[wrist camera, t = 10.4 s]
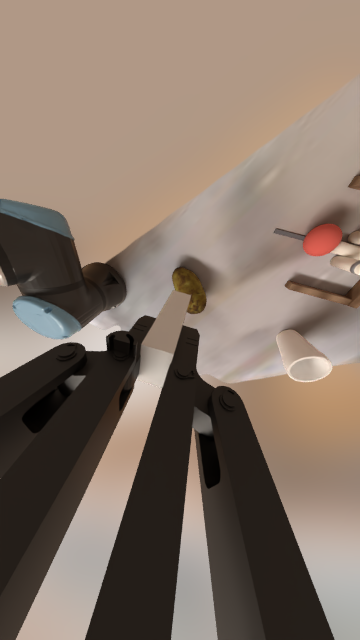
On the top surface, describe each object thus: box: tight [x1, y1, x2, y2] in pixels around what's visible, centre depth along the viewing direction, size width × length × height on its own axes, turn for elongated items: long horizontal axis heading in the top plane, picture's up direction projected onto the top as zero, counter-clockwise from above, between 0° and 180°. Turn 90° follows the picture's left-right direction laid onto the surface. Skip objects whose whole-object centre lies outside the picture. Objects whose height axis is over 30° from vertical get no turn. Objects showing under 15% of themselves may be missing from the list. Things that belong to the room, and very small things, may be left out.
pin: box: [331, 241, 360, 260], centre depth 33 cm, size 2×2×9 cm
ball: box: [303, 224, 342, 256], centre depth 32 cm, size 6×6×6 cm
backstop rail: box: [285, 175, 360, 308], centre depth 33 cm, size 17×22×3 cm
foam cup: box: [276, 330, 333, 382], centre depth 43 cm, size 10×9×13 cm
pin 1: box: [330, 255, 360, 275], centre depth 32 cm, size 2×2×9 cm
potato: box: [172, 267, 206, 314], centre depth 42 cm, size 8×13×8 cm, turn 15°
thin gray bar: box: [274, 229, 305, 241], centre depth 34 cm, size 8×1×1 cm, turn 77°
